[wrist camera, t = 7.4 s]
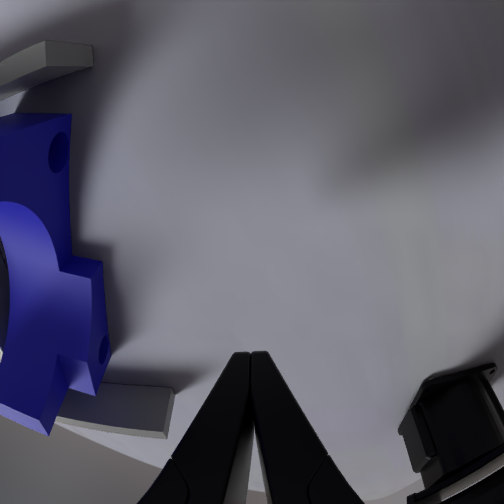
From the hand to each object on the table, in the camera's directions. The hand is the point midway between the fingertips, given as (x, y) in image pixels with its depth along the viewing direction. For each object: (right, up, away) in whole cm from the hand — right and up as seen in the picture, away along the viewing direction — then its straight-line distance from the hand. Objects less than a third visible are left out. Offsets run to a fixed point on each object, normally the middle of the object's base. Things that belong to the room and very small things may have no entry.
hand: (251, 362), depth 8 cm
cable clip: (-8, +3, +5) cm, 10 cm away
